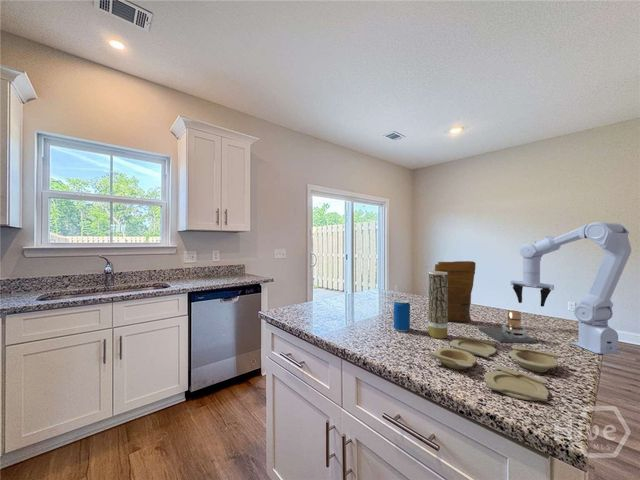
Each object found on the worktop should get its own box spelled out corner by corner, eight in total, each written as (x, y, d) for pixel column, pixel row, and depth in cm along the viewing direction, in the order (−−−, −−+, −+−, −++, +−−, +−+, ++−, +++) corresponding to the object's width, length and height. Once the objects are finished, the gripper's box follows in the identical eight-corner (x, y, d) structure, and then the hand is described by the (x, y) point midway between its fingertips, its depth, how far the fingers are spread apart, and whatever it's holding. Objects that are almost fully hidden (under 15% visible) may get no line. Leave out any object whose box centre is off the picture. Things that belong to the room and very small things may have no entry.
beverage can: (407, 327, 114) (408, 299, 114) (411, 332, 108) (411, 303, 108) (392, 326, 115) (392, 299, 115) (395, 332, 109) (395, 302, 109)
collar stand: (536, 342, 98) (536, 332, 98) (500, 342, 98) (500, 331, 98) (509, 330, 112) (509, 320, 112) (478, 329, 112) (478, 320, 112)
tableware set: (460, 338, 103) (460, 327, 103) (562, 364, 82) (562, 351, 82) (417, 367, 79) (417, 354, 79) (546, 415, 58) (546, 396, 58)
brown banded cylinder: (523, 337, 101) (523, 313, 101) (512, 337, 101) (512, 313, 101) (515, 333, 105) (515, 310, 105) (505, 333, 105) (505, 310, 105)
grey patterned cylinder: (449, 340, 100) (449, 273, 100) (430, 338, 102) (430, 273, 102) (444, 333, 107) (445, 271, 107) (426, 332, 108) (427, 271, 108)
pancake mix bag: (478, 324, 120) (479, 261, 120) (434, 322, 122) (435, 261, 122) (471, 319, 127) (472, 260, 127) (430, 318, 128) (430, 260, 128)
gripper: (556, 273, 111) (555, 306, 111) (514, 270, 122) (514, 299, 122) (551, 274, 106) (551, 309, 106) (508, 271, 118) (508, 302, 118)
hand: (531, 304), depth 114 cm, fingers open, 7 cm apart
